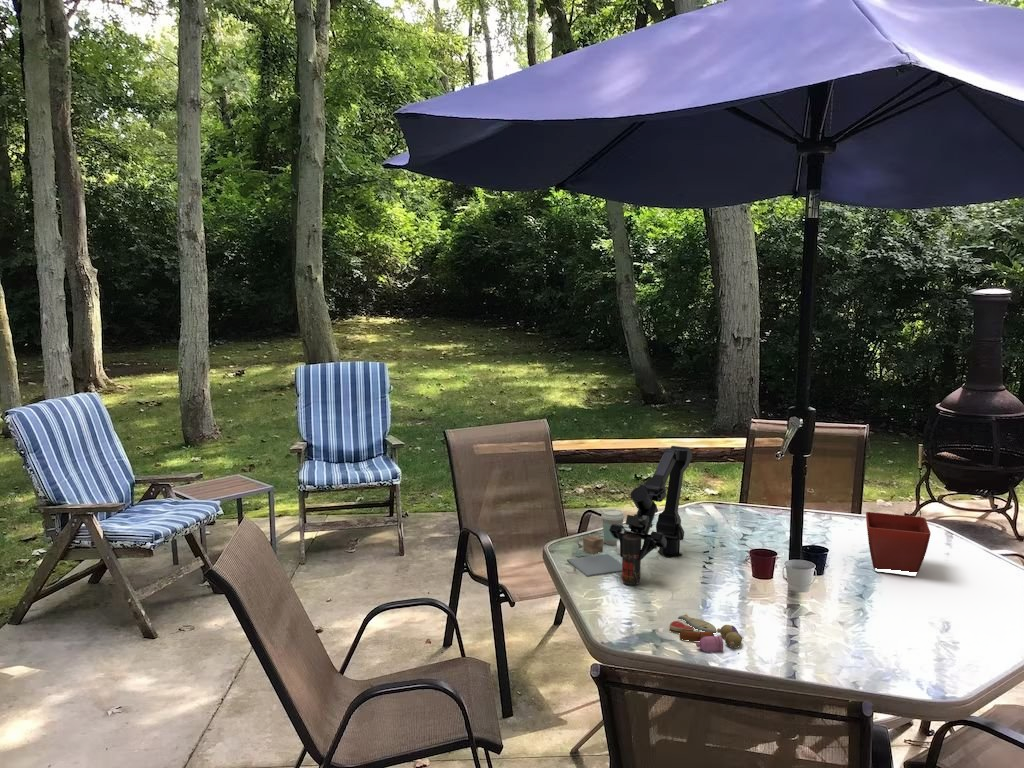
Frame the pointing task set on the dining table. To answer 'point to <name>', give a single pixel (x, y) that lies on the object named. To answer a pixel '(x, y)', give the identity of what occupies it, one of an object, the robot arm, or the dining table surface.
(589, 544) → the walnut box
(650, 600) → the dining table surface
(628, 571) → the deodorant
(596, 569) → the slate board
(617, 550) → the off-white smooth dome
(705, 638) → the toy food set
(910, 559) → the plant pot
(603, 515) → the coffee cup
